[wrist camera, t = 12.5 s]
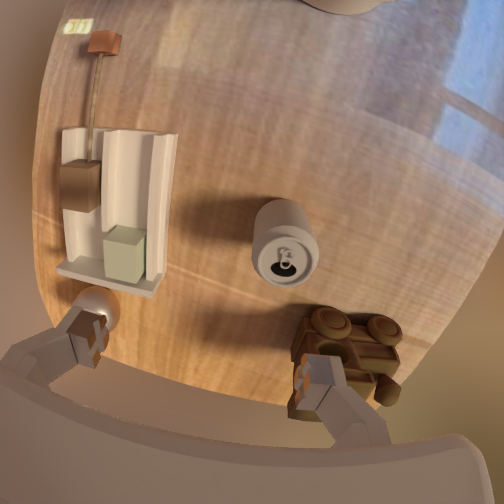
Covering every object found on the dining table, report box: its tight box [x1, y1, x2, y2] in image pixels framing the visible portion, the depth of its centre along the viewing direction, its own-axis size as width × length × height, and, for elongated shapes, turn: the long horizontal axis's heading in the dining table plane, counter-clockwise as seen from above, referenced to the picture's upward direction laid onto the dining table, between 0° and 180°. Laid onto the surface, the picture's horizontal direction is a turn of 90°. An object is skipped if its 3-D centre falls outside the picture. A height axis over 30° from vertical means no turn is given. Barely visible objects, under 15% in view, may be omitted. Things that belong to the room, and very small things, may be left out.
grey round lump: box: [72, 286, 120, 333], centre depth 45 cm, size 9×10×10 cm
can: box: [252, 199, 319, 288], centre depth 37 cm, size 8×8×12 cm
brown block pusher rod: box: [59, 30, 122, 213], centre depth 32 cm, size 24×5×7 cm, turn 169°
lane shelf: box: [56, 126, 178, 298], centre depth 38 cm, size 22×17×7 cm
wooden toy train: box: [287, 307, 402, 422], centre depth 44 cm, size 20×11×17 cm, turn 78°
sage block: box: [103, 225, 147, 284], centre depth 40 cm, size 6×5×5 cm
